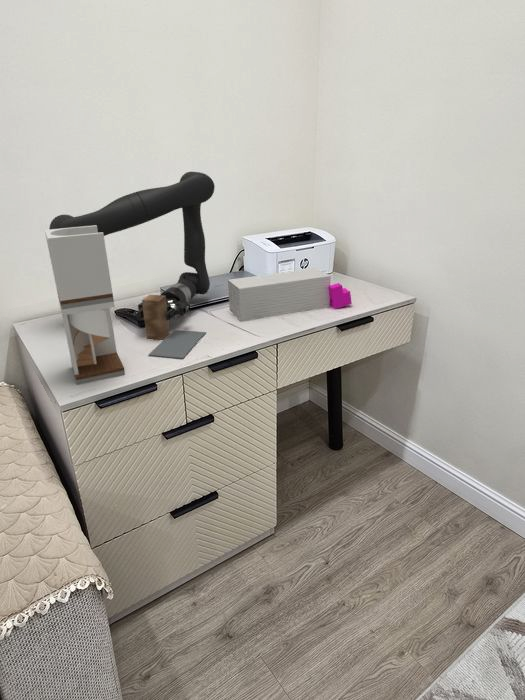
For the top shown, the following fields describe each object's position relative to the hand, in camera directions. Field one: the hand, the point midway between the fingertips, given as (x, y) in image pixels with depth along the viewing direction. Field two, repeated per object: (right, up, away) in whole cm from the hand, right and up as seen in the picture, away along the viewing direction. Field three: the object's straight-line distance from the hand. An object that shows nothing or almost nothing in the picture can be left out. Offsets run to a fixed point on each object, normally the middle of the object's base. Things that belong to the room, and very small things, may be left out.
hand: (153, 316), depth 138 cm
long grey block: (+37, +4, +25) cm, 45 cm away
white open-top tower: (-11, -15, -15) cm, 24 cm away
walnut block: (+1, -6, +4) cm, 7 cm away
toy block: (+56, +8, +30) cm, 64 cm away
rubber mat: (+7, -8, -1) cm, 11 cm away
